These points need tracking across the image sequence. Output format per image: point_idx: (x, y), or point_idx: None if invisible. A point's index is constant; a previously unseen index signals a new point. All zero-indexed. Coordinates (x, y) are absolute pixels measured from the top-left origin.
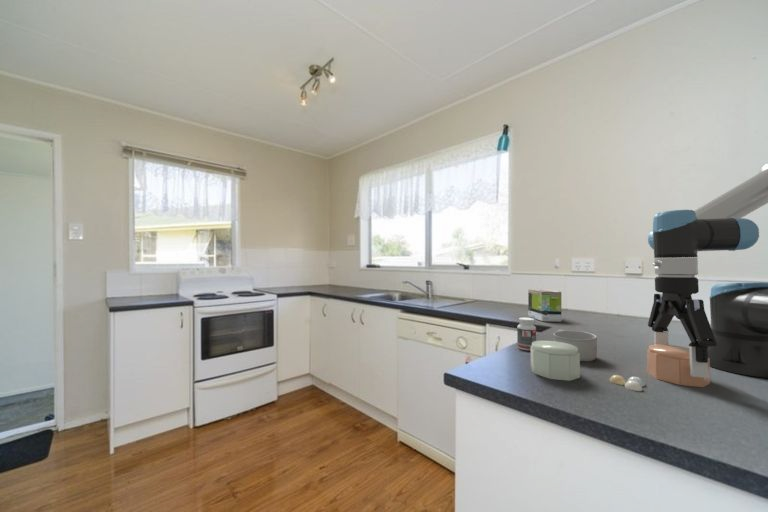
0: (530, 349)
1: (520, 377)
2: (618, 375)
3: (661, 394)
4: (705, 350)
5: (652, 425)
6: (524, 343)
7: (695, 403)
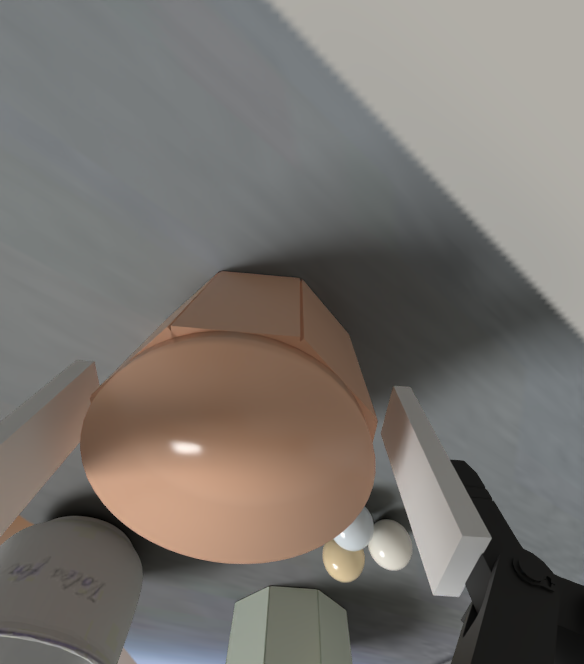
0: None
1: None
2: (347, 578)
3: None
4: (511, 545)
5: (549, 561)
6: None
7: (436, 415)
